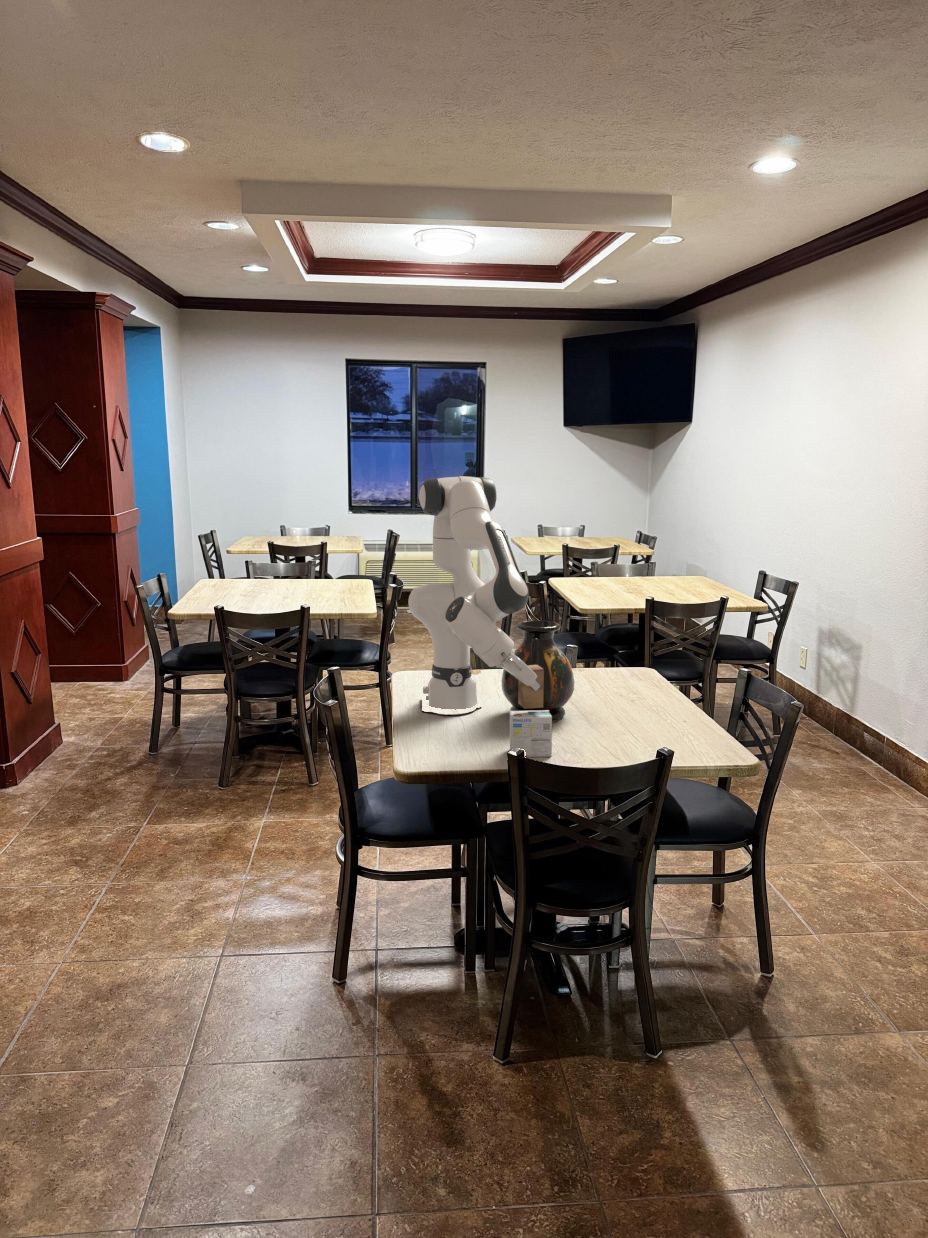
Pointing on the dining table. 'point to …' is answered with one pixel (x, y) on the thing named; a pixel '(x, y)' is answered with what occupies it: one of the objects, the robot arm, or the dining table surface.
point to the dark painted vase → (550, 658)
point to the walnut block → (532, 690)
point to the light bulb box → (531, 732)
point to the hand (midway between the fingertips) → (533, 684)
